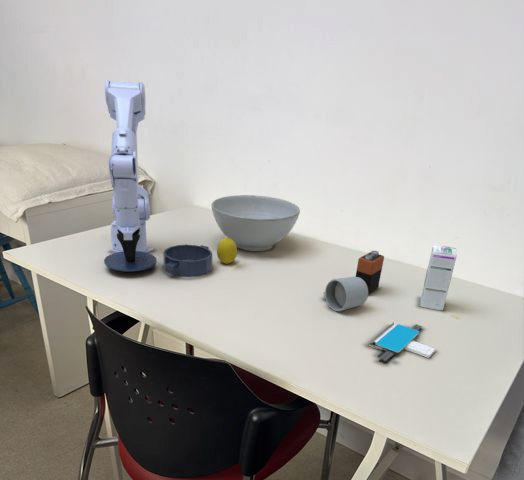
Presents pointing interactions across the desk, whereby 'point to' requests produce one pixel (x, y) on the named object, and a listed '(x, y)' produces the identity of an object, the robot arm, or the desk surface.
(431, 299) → the syrup box
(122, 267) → the pot lid
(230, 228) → the decorative bowl
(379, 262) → the battery
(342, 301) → the ceramic mug
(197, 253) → the pot
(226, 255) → the lemon
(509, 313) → the desk surface
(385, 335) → the blue flat gadget
